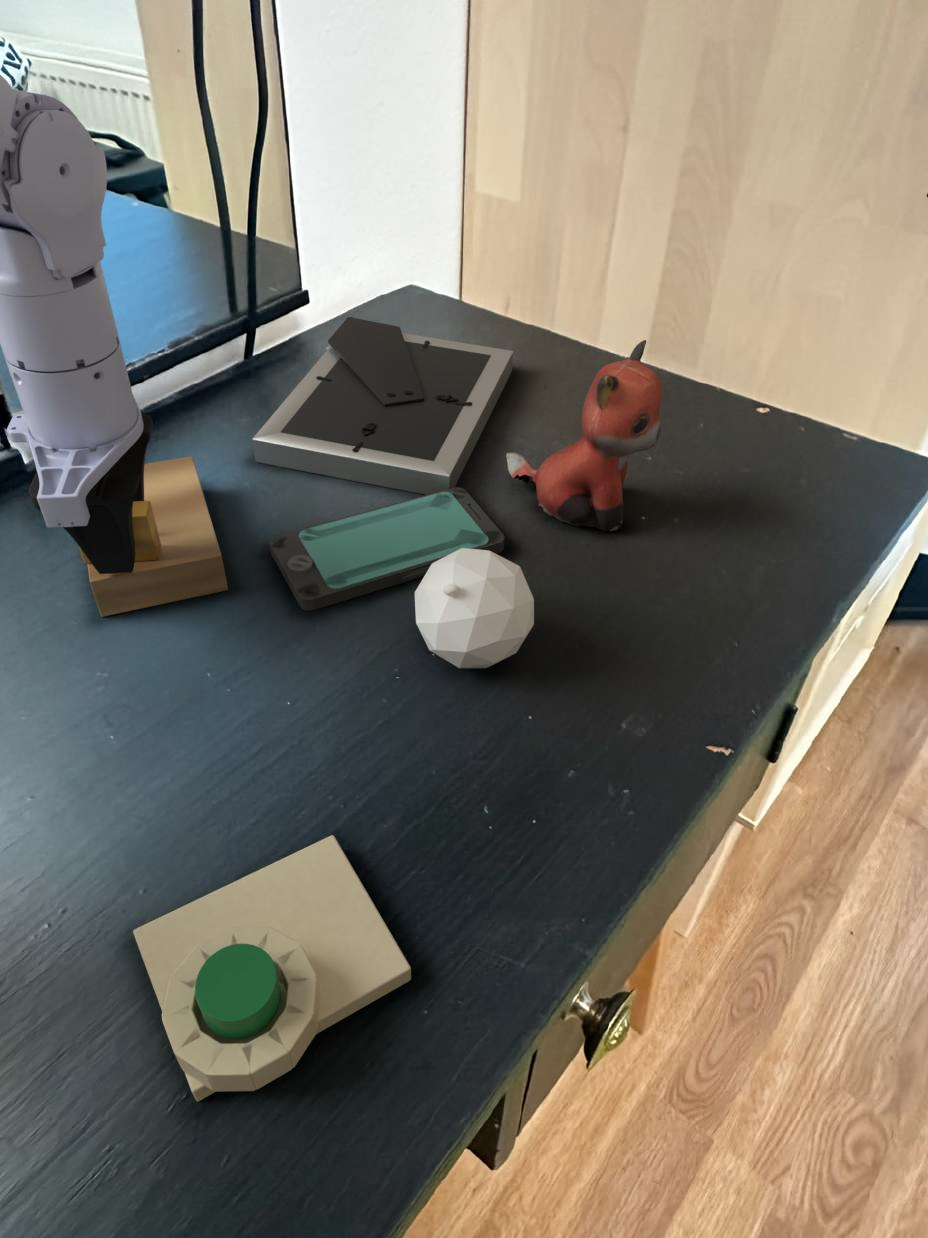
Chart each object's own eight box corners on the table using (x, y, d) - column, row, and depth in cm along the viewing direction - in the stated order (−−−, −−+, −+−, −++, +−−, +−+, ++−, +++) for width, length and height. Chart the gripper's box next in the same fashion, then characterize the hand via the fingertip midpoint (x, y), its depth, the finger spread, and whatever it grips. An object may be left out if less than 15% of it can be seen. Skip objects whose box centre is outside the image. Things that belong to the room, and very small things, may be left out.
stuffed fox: (517, 454, 72) (530, 311, 64) (653, 490, 69) (686, 344, 61) (483, 505, 67) (492, 356, 58) (628, 545, 64) (660, 395, 56)
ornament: (554, 670, 54) (515, 639, 47) (442, 685, 57) (388, 657, 50) (546, 562, 57) (507, 517, 49) (438, 581, 59) (386, 540, 52)
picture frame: (349, 345, 84) (255, 462, 70) (348, 316, 82) (250, 430, 68) (511, 372, 82) (448, 499, 67) (514, 342, 80) (449, 467, 65)
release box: (206, 1133, 36) (193, 1107, 33) (136, 942, 41) (121, 910, 39) (425, 1004, 40) (426, 973, 38) (334, 847, 45) (330, 812, 43)
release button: (218, 1055, 35) (211, 1038, 34) (191, 986, 37) (183, 967, 36) (293, 1013, 36) (289, 995, 35) (263, 949, 38) (258, 929, 37)
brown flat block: (228, 590, 59) (221, 555, 57) (101, 617, 57) (89, 581, 54) (199, 489, 67) (192, 455, 65) (86, 509, 65) (75, 474, 62)
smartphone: (266, 535, 61) (461, 482, 66) (268, 550, 62) (461, 496, 67) (302, 601, 57) (509, 539, 62) (304, 616, 57) (508, 553, 63)
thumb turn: (161, 544, 57) (149, 496, 55) (158, 560, 56) (145, 512, 54) (88, 547, 57) (73, 499, 54) (84, 563, 56) (67, 515, 53)
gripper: (16, 289, 52) (78, 484, 61) (-61, 422, 41) (28, 632, 50) (142, 287, 52) (184, 480, 62) (98, 417, 42) (156, 625, 51)
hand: (121, 548), depth 56 cm, fingers open, 3 cm apart
